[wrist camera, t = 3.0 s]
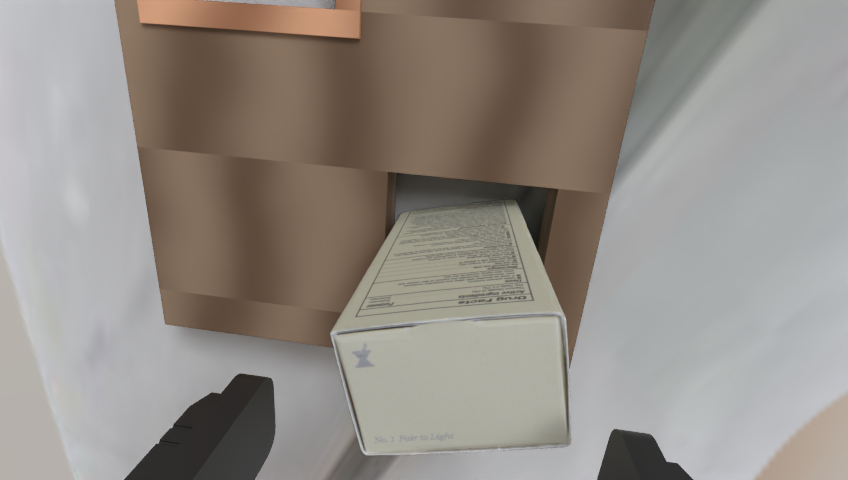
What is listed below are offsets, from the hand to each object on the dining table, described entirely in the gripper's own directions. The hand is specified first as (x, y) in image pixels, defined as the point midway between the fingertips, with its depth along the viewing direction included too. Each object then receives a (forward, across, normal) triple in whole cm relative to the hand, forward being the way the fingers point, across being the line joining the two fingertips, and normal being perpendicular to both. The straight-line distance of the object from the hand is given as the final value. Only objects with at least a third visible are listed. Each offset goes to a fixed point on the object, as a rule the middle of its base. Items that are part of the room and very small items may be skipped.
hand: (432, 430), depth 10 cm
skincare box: (+14, 0, 0) cm, 14 cm away
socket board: (+14, +5, -7) cm, 16 cm away
